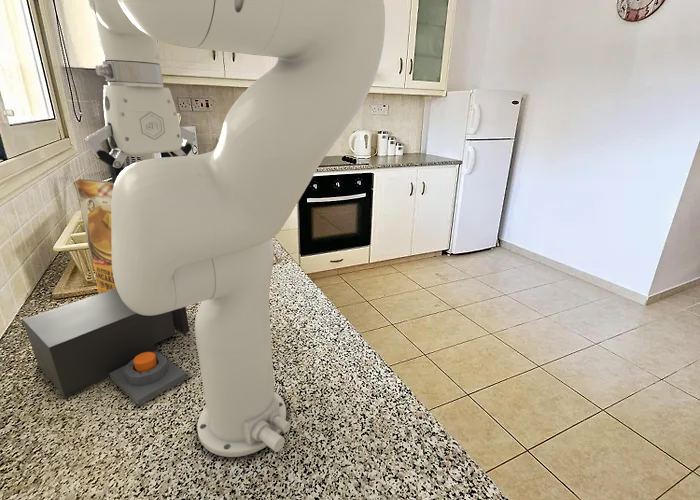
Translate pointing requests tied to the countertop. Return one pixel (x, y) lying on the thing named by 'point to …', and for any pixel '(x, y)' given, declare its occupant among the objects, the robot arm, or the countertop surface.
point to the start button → (145, 361)
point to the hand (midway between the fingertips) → (153, 186)
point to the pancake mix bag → (98, 227)
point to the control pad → (147, 379)
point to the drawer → (169, 324)
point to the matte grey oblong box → (87, 340)
